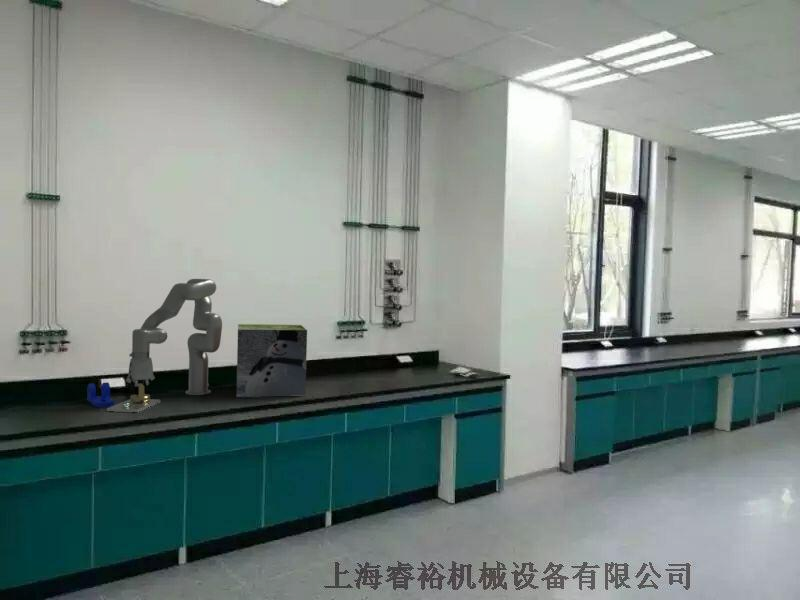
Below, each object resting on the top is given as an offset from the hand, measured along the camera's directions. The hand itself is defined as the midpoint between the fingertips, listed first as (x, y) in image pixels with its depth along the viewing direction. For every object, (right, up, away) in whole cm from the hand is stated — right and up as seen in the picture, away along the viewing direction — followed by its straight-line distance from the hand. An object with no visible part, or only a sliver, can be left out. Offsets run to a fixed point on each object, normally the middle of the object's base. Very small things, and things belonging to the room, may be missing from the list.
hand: (140, 393), depth 279 cm
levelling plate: (0, -5, -5) cm, 7 cm away
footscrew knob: (0, -3, -1) cm, 4 cm away
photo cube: (+51, -6, +44) cm, 68 cm away
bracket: (-18, -5, 0) cm, 19 cm away
